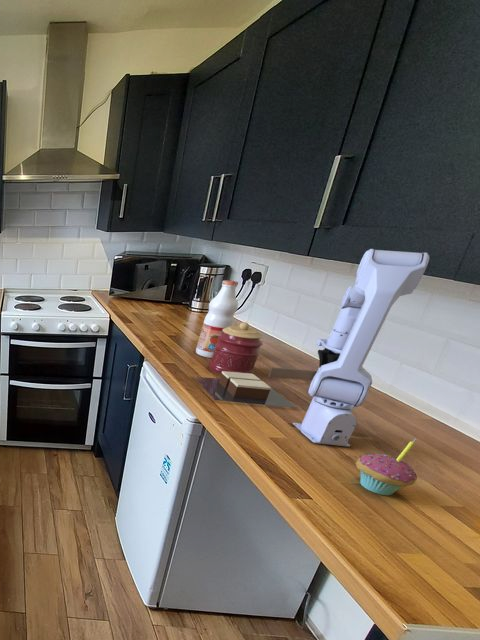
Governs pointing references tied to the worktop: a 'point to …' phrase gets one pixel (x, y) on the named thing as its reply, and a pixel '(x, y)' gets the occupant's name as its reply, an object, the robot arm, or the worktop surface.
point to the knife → (292, 373)
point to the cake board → (223, 395)
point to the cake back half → (235, 377)
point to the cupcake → (386, 472)
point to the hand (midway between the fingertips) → (325, 376)
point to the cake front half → (248, 389)
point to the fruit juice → (217, 318)
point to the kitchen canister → (236, 350)
